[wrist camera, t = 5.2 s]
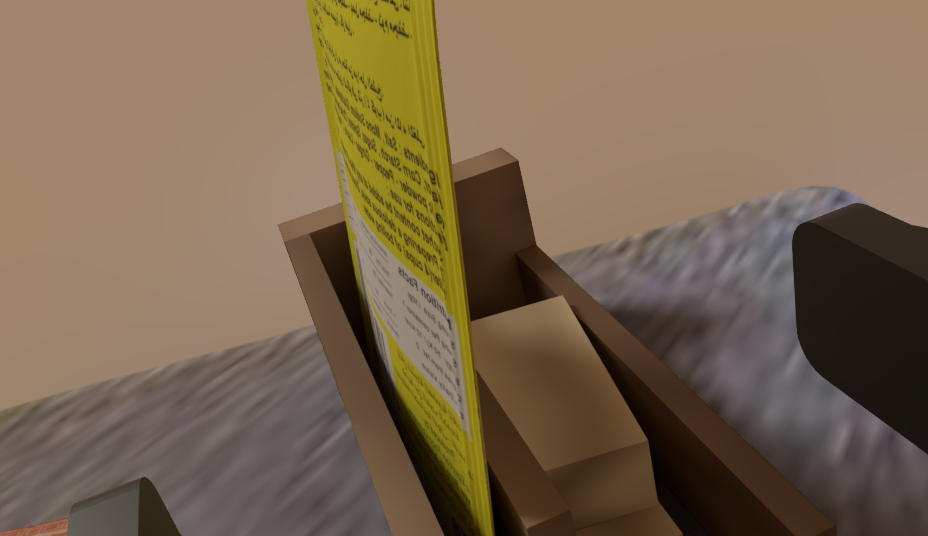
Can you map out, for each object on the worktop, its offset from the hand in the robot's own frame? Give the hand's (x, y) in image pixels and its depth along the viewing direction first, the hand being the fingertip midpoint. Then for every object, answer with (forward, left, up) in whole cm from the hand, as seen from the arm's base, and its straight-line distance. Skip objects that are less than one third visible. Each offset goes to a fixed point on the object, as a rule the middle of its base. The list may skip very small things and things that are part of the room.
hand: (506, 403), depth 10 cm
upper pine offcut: (+4, +14, -13) cm, 20 cm away
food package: (-1, +14, -15) cm, 20 cm away
